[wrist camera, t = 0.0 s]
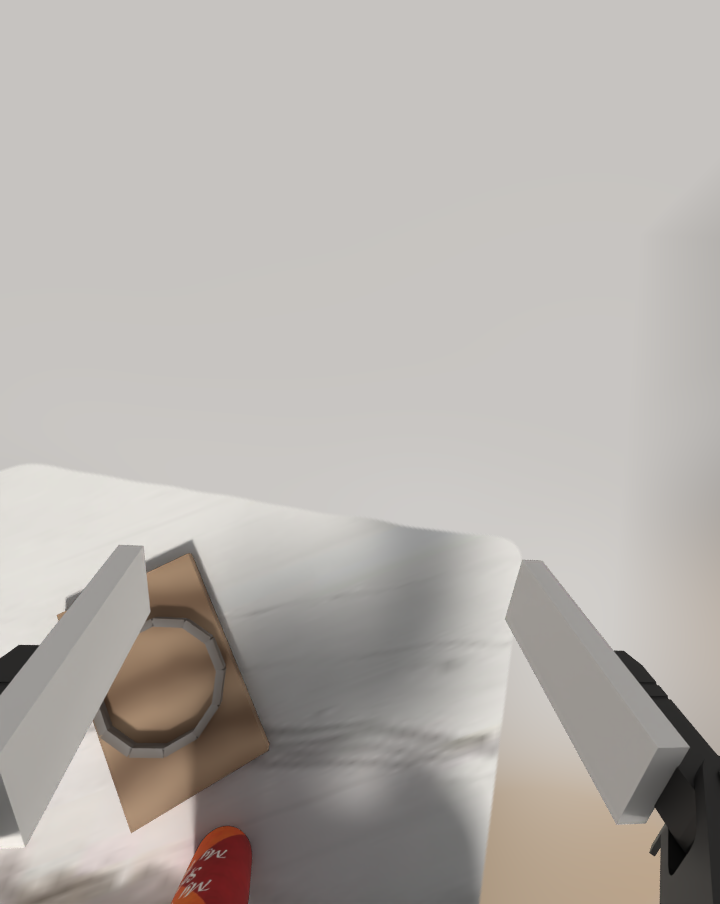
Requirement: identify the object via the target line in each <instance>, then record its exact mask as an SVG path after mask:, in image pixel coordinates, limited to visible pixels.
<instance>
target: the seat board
mask: <svg viewBox="0 0 720 904" xmlns="http://www.w3.org/2000/svg"><path fill="white" fill-rule="evenodd" d="M146 574H147V584H148V593H149V603H150V614H149V616H148V617H147V619H146V621H145V623H144V625H143V627H142V629H141V631H140V633H139V634H138V636H137V638H136V640H135V642H134V644H133V646H132V648H131V649H130V651H129V653H128V655H127V657H126V659H125V661H124V663H123V665H122V666H121V668H120V670H119V672H118V674H117V676H116V678H115V680H114V681H113V683H112V685H111V687H110V689H109V691H108V693H107V695H106V696H105V698H104V700H103V702H102V704H101V706H100V708H99V710H98V712H97V713H96V715H95V717H94V719H93V723H94V726H95V729H96V732H97V735H98V738H99V741H100V744H101V746H102V749H103V752H104V755H105V758H106V761H107V764H108V767H109V770H110V773H111V776H112V779H113V782H114V785H115V787H116V790H117V793H118V796H119V799H120V802H121V805H122V808H123V811H124V814H125V817H126V820H127V823H128V826H129V828H130V831H131V833H132V832H134V831H136V830H137V829H139V828H141V827H142V826H144V825H146V824H147V823H149V822H151V821H152V820H154V819H156V818H157V817H159V816H161V815H162V814H164V813H165V812H167V811H169V810H170V809H172V808H174V807H175V806H177V805H179V804H180V803H182V802H184V801H185V800H187V799H189V798H190V797H192V796H194V795H195V794H197V793H199V792H200V791H202V790H204V789H205V788H207V787H209V786H210V785H212V784H214V783H215V782H217V781H219V780H220V779H222V778H224V777H225V776H227V775H229V774H230V773H232V772H234V771H235V770H237V769H239V768H240V767H242V766H244V765H245V764H247V763H248V762H250V761H252V760H253V759H255V758H257V757H258V756H260V755H262V754H263V753H265V752H267V751H268V750H269V745H270V744H269V742H268V739H267V737H266V734H265V732H264V729H263V727H262V725H261V722H260V720H259V717H258V715H257V712H256V710H255V707H254V705H253V703H252V700H251V698H250V695H249V693H248V690H247V688H246V685H245V683H244V681H243V678H242V676H241V673H240V671H239V668H238V666H237V663H236V661H235V659H234V656H233V654H232V651H231V649H230V646H229V644H228V641H227V639H226V637H225V634H224V632H223V629H222V627H221V624H220V622H219V619H218V617H217V615H216V612H215V610H214V607H213V605H212V602H211V600H210V598H209V595H208V593H207V590H206V588H205V585H204V583H203V580H202V578H201V576H200V573H199V571H198V568H197V566H196V563H195V561H194V558H193V556H192V554H190V553H188V554H186V555H184V556H181V557H179V558H177V559H175V560H173V561H171V562H169V563H167V564H164V565H162V566H160V567H158V568H156V569H154V570H152V571H150V572H147V573H146ZM65 613H66V611H65V612H62V613H60V614H58V615H57V618H58V620H60V619H61V618H62V616H63V615H64V614H65Z"/></svg>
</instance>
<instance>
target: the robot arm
mask: <svg viewBox="0 0 720 904" xmlns="http://www.w3.org/2000/svg"><path fill="white" fill-rule="evenodd" d="M149 614H150V603H149V593H148V584H147V574H146V564H145V555H144V546H133V545H119V546H118V547H117V548H116V549H115V551H114V552H113V553H112V554H111V556H110V557H109V558H108V559H107V561H106V562H105V563H104V564H103V566H102V567H101V568H100V570H99V571H98V572H97V573H96V575H95V576H94V577H93V578H92V580H91V581H90V582H89V583H88V585H87V586H86V587H85V589H84V590H83V591H82V592H81V594H80V595H79V596H78V597H77V599H76V600H75V601H74V602H73V604H72V605H71V606H70V608H69V609H68V610H67V611H66V613H65V614H64V615H63V616H62V618H61V619H60V620H59V621H58V623H57V624H56V625H55V627H54V628H53V629H52V630H51V632H50V633H49V634H48V635H47V637H46V638H45V639H44V640H43V642H42V643H41V644H40V645H18V646H17V647H15V648H14V649H13V650H11V651H10V652H8V653H7V654H6V655H4V656H3V657H1V658H0V849H4V848H25V847H26V845H27V843H28V841H29V840H30V838H31V836H32V834H33V832H34V830H35V828H36V826H37V824H38V823H39V821H40V819H41V817H42V815H43V813H44V811H45V809H46V808H47V806H48V804H49V802H50V800H51V798H52V796H53V794H54V792H55V791H56V789H57V787H58V785H59V783H60V781H61V779H62V777H63V776H64V774H65V772H66V770H67V768H68V766H69V764H70V762H71V760H72V759H73V757H74V755H75V753H76V751H77V749H78V747H79V745H80V744H81V742H82V740H83V738H84V736H85V734H86V732H87V730H88V728H89V727H90V725H91V723H92V721H93V719H94V717H95V715H96V713H97V712H98V710H99V708H100V706H101V704H102V702H103V700H104V698H105V696H106V695H107V693H108V691H109V689H110V687H111V685H112V683H113V681H114V680H115V678H116V676H117V674H118V672H119V670H120V668H121V666H122V665H123V663H124V661H125V659H126V657H127V655H128V653H129V651H130V649H131V648H132V646H133V644H134V642H135V640H136V638H137V636H138V634H139V633H140V631H141V629H142V627H143V625H144V623H145V621H146V619H147V617H148V616H149ZM505 620H506V622H507V624H508V625H509V627H510V629H511V631H512V633H513V635H514V637H515V638H516V640H517V642H518V644H519V646H520V648H521V649H522V651H523V653H524V655H525V657H526V659H527V660H528V662H529V664H530V666H531V668H532V670H533V672H534V673H535V675H536V677H537V679H538V681H539V683H540V684H541V686H542V688H543V690H544V692H545V694H546V695H547V697H548V699H549V701H550V703H551V705H552V707H553V708H554V710H555V712H556V714H557V716H558V717H559V719H560V721H561V723H562V725H563V727H564V729H565V731H566V732H567V734H568V736H569V738H570V740H571V741H572V743H573V745H574V747H575V749H576V751H577V753H578V754H579V756H580V758H581V760H582V762H583V764H584V765H585V767H586V769H587V771H588V773H589V774H590V777H591V778H592V780H593V782H594V784H595V786H596V788H597V789H598V791H599V793H600V795H601V797H602V799H603V800H604V802H605V804H606V806H607V808H608V810H609V812H610V813H611V815H612V817H613V819H614V821H615V823H616V824H640V823H646V822H647V820H648V818H649V816H650V815H651V813H652V812H653V810H654V808H656V810H657V811H658V813H659V814H660V816H661V818H662V819H663V821H664V822H665V824H664V826H663V828H662V829H661V831H660V833H659V834H658V836H657V837H656V839H655V841H654V842H653V844H652V846H651V849H650V852H649V853H650V854H652V855H653V856H655V855H656V854H657V852H658V851H659V849H660V848H661V861H660V863H661V865H660V904H720V756H718V755H717V754H716V753H715V752H714V751H713V749H712V748H711V747H710V746H709V745H708V743H707V742H706V741H705V740H704V739H703V738H702V736H701V735H700V734H699V733H698V731H697V730H696V729H695V728H694V727H693V726H692V724H691V723H690V722H689V721H688V720H687V719H686V717H685V716H684V715H683V714H682V712H681V711H680V710H679V709H678V708H677V706H676V705H675V704H674V703H673V702H672V700H669V699H668V696H667V695H666V693H665V692H664V691H663V690H662V689H661V687H660V686H659V685H657V684H656V681H655V680H654V679H653V678H652V677H651V676H650V674H649V673H648V672H647V671H646V669H645V668H644V667H643V666H642V665H641V664H640V663H639V662H637V661H636V660H635V659H633V658H632V657H631V656H630V655H628V654H627V653H626V652H625V651H613V650H612V648H611V647H610V646H609V645H608V643H607V642H606V641H605V639H604V638H603V637H602V636H601V634H600V633H599V632H598V631H597V629H596V628H595V627H594V626H593V624H592V623H591V622H590V620H589V619H588V618H587V617H586V616H585V614H584V613H583V612H582V610H581V609H580V608H579V607H578V605H577V604H576V603H575V602H574V600H573V599H572V598H571V597H570V595H569V594H568V593H567V592H566V590H565V589H564V588H563V586H562V585H561V584H560V583H559V581H558V580H557V579H556V578H555V576H554V575H553V574H552V573H551V571H550V570H549V569H548V568H547V566H546V565H545V564H544V562H543V561H538V560H522V563H521V566H520V569H519V573H518V576H517V580H516V583H515V586H514V590H513V593H512V597H511V600H510V604H509V607H508V610H507V614H506V617H505Z"/></svg>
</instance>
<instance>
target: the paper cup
mask: <svg viewBox="0 0 720 904" xmlns="http://www.w3.org/2000/svg"><path fill="white" fill-rule="evenodd" d="M251 865H252V851H251V845H250V842H249V840H248V838H247V836H246V835H245V834H244V833H243V832H242V831H241V830H239V829H238V828H235V827H232V826H223V827H219V828H217V829H215V830H213V831H211V832H210V833H209V834H208V835H207V836H206V837H205V838H204V839H203V840H202V842H201V843H200V845H199V847H198V849H197V850H196V852H195V854H194V856H193V858H192V860H191V862H190V865H189V867H188V869H187V871H186V873H185V875H184V877H183V879H182V881H181V883H180V886H179V888H178V890H177V892H176V894H175V896H174V898H173V900H172V903H171V904H248V899H249V888H250V877H251Z"/></svg>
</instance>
